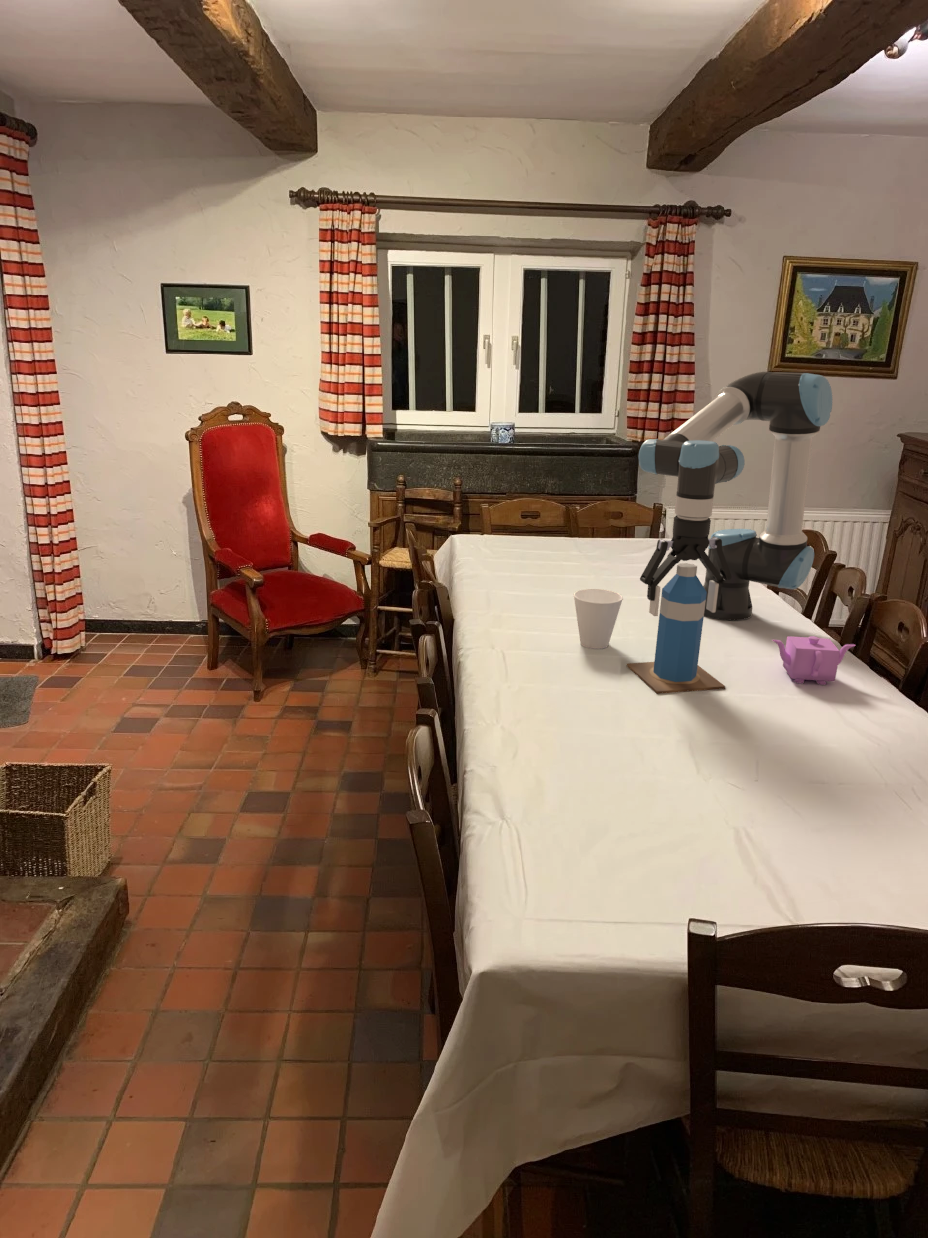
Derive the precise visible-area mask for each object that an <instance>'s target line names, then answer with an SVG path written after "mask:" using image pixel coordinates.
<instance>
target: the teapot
mask: <svg viewBox="0 0 928 1238" xmlns="http://www.w3.org/2000/svg"><path fill="white" fill-rule="evenodd" d="M771 641H772V642H774V643H776V644H777V647H778V650H779V656H780V659H781V661H782V667H783V668H784V670H785V671H786V673H787V674H788V676H789V677H790V679H791V680H793V679H794V683H797V684H804V682H805V680H806V681H816V684H817V685H822V686H826V685H827V683H826V682H836V677H837V672H838V666H839V665H840V664H841V662H842V661H843V659H844V657H845V655H846V653H847V652H848V650H850V649H851V648H854V647H855V646H856V644H854V643H850V644H849V643H846V644H844V645H843V646H842V647H841V648H840V650H839V648H838V647H837V646H836V645H835V644H834V642H832V640H831V639H830V638H823V637H818V636H814V635H811V636H808V637H807V636H806V637H805V636H793V635H792V636H789V635H788V636H787V637H786V643H785V644H784V642H783V641H782V640H780V639H771Z"/></svg>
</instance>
